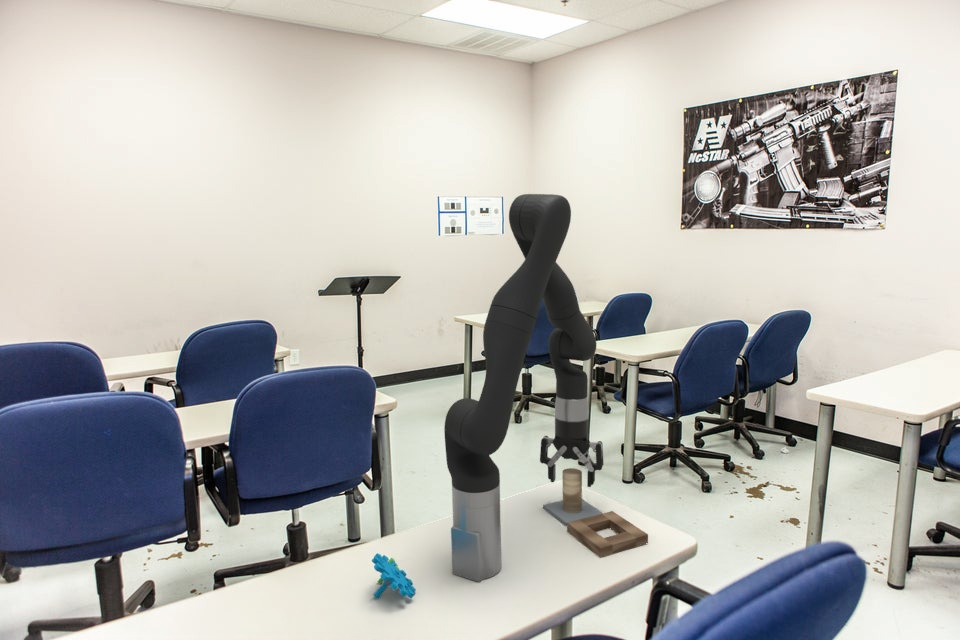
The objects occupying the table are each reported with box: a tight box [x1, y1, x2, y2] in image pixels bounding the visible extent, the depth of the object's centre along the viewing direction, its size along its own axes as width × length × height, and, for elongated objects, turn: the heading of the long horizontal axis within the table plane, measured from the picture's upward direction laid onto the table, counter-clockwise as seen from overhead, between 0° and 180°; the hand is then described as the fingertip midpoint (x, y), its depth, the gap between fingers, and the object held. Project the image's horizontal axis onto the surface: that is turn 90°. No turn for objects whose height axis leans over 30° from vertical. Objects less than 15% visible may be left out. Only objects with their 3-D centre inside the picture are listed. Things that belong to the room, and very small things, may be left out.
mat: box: [542, 498, 604, 527], centre depth 139 cm, size 10×10×1 cm
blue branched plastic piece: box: [371, 553, 417, 600], centre depth 109 cm, size 11×6×10 cm
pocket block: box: [566, 510, 649, 558], centre depth 127 cm, size 12×12×2 cm
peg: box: [562, 467, 583, 513], centre depth 138 cm, size 4×4×9 cm
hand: (571, 483), depth 138 cm, fingers open, 8 cm apart
